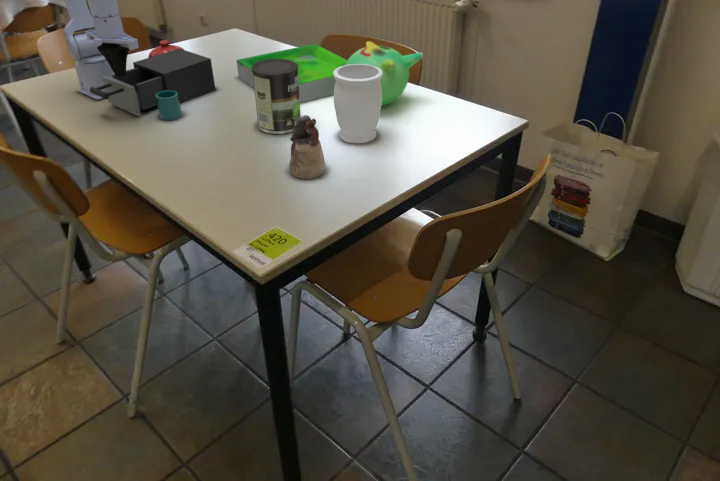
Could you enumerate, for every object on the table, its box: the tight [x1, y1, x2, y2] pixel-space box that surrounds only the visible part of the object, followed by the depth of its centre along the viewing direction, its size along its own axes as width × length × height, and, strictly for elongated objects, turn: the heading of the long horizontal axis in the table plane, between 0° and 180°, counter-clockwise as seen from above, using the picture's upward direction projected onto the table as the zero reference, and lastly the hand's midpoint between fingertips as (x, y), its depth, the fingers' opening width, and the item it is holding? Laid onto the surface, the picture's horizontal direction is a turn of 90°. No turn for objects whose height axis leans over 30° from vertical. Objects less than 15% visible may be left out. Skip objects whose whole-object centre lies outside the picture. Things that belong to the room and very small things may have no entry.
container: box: [156, 90, 182, 121], centre depth 136 cm, size 5×5×6 cm
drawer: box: [90, 67, 166, 116], centre depth 139 cm, size 19×12×7 cm, turn 142°
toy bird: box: [345, 40, 424, 107], centre depth 140 cm, size 18×17×15 cm
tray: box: [236, 43, 348, 104], centre depth 154 cm, size 25×25×5 cm
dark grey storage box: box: [132, 48, 216, 104], centre depth 147 cm, size 14×13×8 cm
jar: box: [333, 64, 383, 144], centre depth 125 cm, size 11×10×15 cm
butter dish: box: [147, 39, 185, 58], centre depth 160 cm, size 12×12×8 cm
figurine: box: [289, 114, 326, 180], centre depth 113 cm, size 7×7×12 cm
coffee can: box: [251, 59, 302, 135], centre depth 130 cm, size 10×10×14 cm
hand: (120, 75), depth 132 cm, fingers closed
